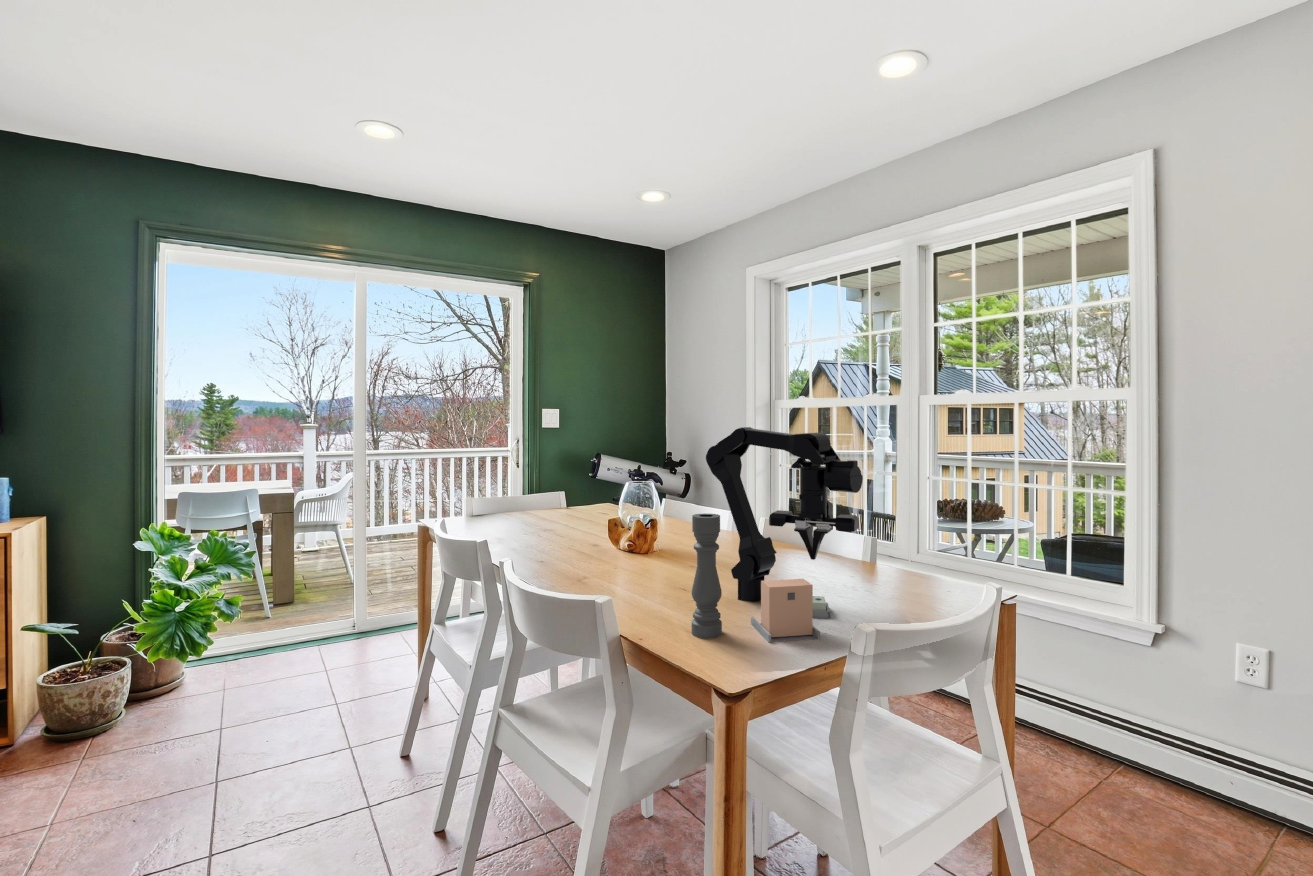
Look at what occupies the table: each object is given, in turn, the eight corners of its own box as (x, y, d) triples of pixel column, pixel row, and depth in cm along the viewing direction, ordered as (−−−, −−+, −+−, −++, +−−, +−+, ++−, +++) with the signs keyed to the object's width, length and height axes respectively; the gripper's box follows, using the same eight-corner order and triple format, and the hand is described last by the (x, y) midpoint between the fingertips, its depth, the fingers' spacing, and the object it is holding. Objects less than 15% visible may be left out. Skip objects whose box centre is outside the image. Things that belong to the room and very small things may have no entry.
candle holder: (703, 630, 134) (702, 512, 133) (728, 637, 130) (727, 515, 129) (685, 639, 130) (684, 516, 129) (710, 645, 126) (710, 519, 125)
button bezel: (795, 621, 139) (795, 611, 139) (794, 610, 147) (794, 600, 147) (833, 623, 138) (833, 612, 138) (830, 612, 146) (830, 602, 146)
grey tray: (751, 628, 135) (751, 617, 135) (798, 625, 137) (798, 614, 137) (768, 647, 124) (768, 634, 124) (820, 643, 126) (820, 631, 126)
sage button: (801, 611, 141) (801, 601, 140) (800, 604, 146) (800, 595, 146) (826, 612, 140) (826, 602, 139) (824, 605, 145) (824, 596, 145)
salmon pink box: (761, 629, 131) (761, 580, 131) (802, 626, 133) (802, 578, 132) (769, 637, 126) (769, 587, 126) (812, 634, 128) (813, 585, 127)
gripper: (863, 487, 144) (863, 555, 145) (782, 483, 153) (782, 548, 154) (854, 493, 134) (853, 566, 135) (768, 488, 143) (768, 558, 144)
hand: (813, 559), depth 142 cm, fingers closed
